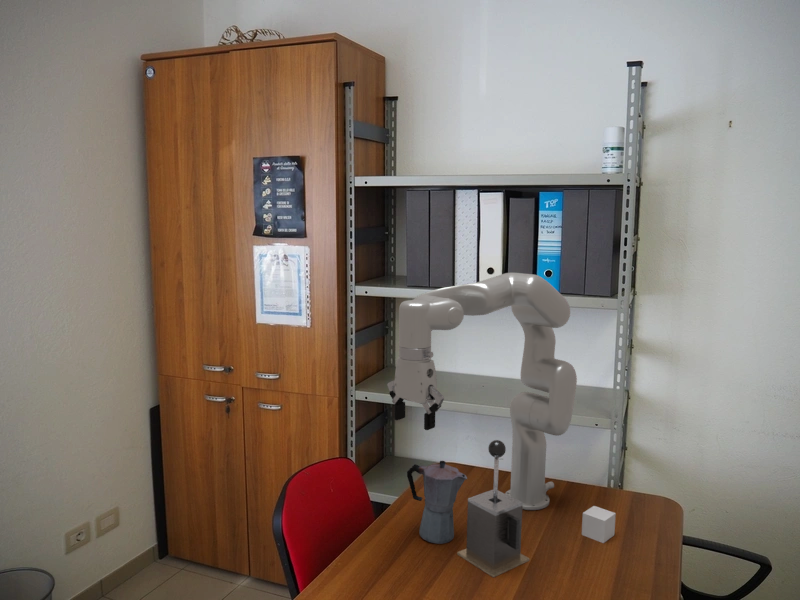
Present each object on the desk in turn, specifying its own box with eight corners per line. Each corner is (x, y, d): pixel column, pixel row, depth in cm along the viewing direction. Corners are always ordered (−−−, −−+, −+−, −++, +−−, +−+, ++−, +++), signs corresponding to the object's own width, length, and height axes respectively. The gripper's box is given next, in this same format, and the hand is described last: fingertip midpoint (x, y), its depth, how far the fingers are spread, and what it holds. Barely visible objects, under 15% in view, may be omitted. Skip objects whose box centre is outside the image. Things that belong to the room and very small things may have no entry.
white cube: (614, 535, 161) (615, 513, 160) (603, 543, 157) (604, 521, 156) (592, 527, 165) (593, 505, 164) (581, 535, 161) (582, 512, 160)
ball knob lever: (494, 500, 152) (497, 434, 150) (514, 510, 147) (517, 441, 145) (475, 507, 148) (477, 439, 146) (495, 517, 143) (497, 447, 141)
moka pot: (463, 548, 153) (465, 470, 150) (401, 541, 156) (402, 464, 153) (467, 530, 162) (469, 456, 160) (408, 523, 165) (410, 450, 163)
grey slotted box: (492, 539, 157) (494, 485, 156) (533, 563, 147) (536, 505, 145) (457, 554, 150) (459, 497, 148) (497, 580, 140) (500, 519, 138)
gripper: (453, 356, 143) (452, 428, 145) (399, 345, 155) (399, 412, 157) (432, 362, 137) (431, 436, 140) (377, 350, 149) (377, 419, 152)
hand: (414, 423), depth 148 cm, fingers open, 9 cm apart
